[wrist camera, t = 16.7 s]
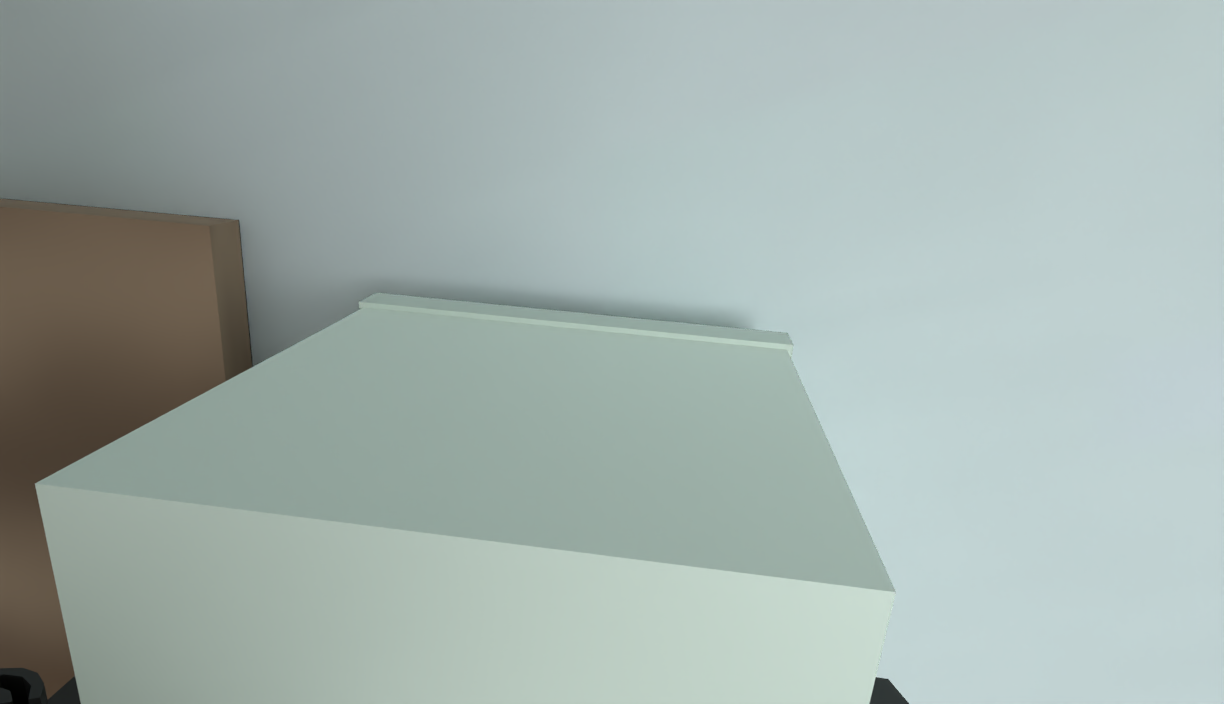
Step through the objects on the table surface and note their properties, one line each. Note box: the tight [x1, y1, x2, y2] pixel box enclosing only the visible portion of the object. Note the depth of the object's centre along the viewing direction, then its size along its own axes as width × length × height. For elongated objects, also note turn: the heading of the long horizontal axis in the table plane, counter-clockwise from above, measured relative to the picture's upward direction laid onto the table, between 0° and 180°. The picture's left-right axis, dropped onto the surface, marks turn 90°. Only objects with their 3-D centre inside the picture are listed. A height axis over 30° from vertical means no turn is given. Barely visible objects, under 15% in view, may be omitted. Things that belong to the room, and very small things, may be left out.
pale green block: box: [35, 293, 896, 704], centre depth 12 cm, size 10×8×8 cm
